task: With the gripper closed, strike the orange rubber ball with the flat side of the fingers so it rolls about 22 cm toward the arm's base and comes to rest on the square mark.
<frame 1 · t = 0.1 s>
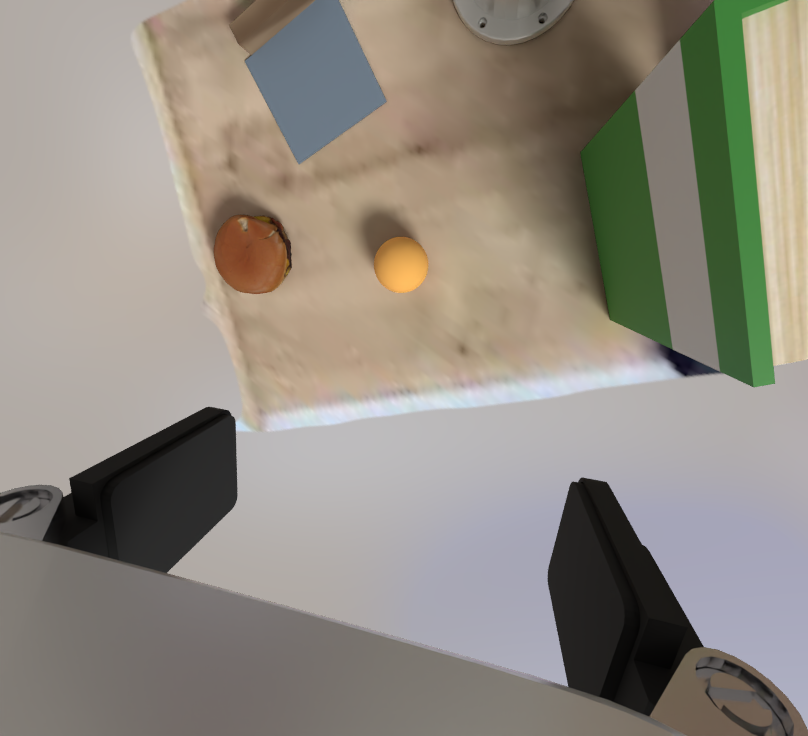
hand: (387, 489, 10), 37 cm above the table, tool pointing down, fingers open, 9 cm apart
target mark: (314, 81, 42), on the table
hardback book: (633, 228, 40), on the table
stopper wall: (282, 16, 41), on the table
burger: (263, 255, 49), on the table
ball: (401, 265, 42), on the table
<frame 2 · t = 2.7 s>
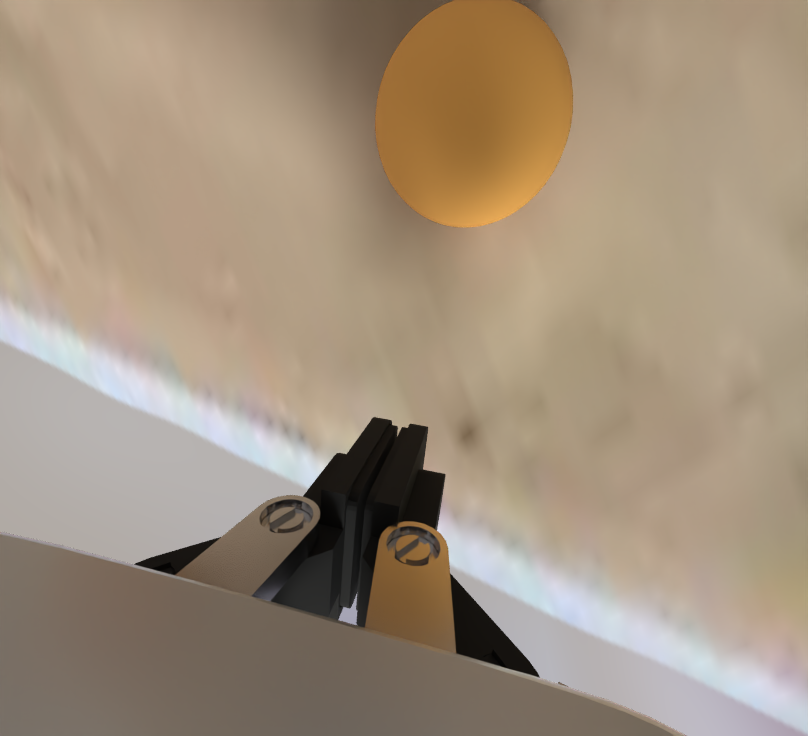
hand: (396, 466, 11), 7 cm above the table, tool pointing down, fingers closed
ball: (469, 126, 12), on the table
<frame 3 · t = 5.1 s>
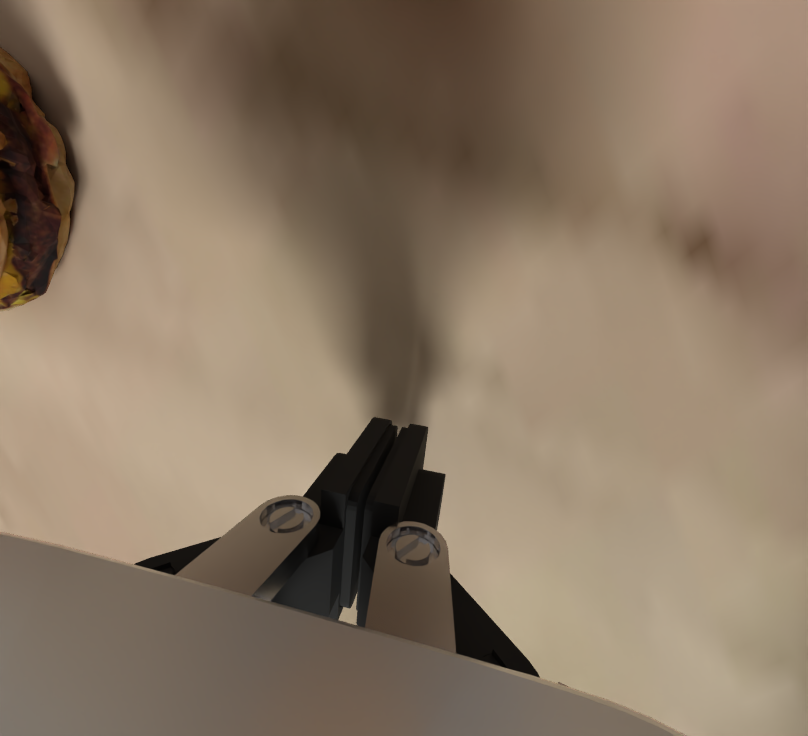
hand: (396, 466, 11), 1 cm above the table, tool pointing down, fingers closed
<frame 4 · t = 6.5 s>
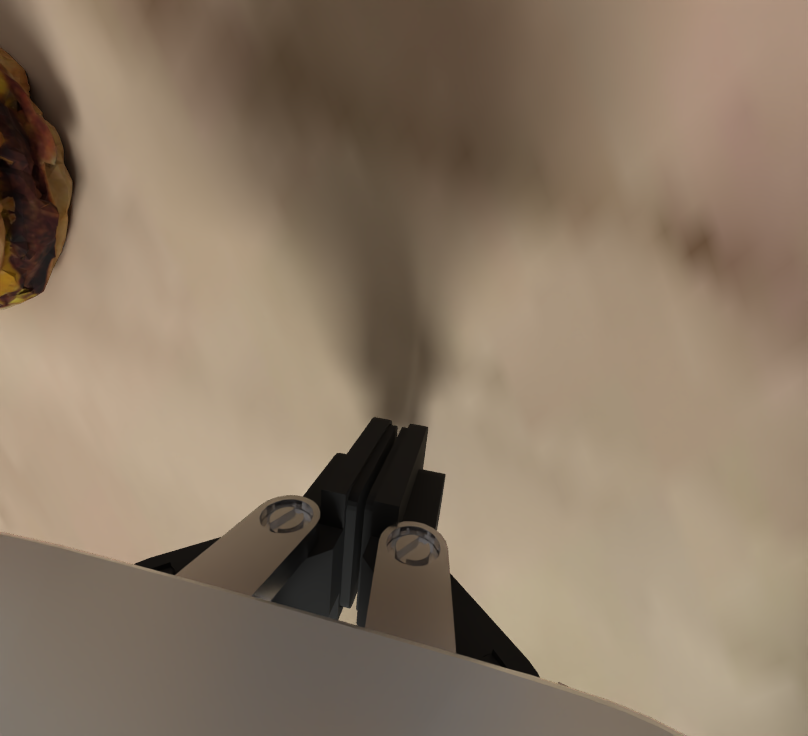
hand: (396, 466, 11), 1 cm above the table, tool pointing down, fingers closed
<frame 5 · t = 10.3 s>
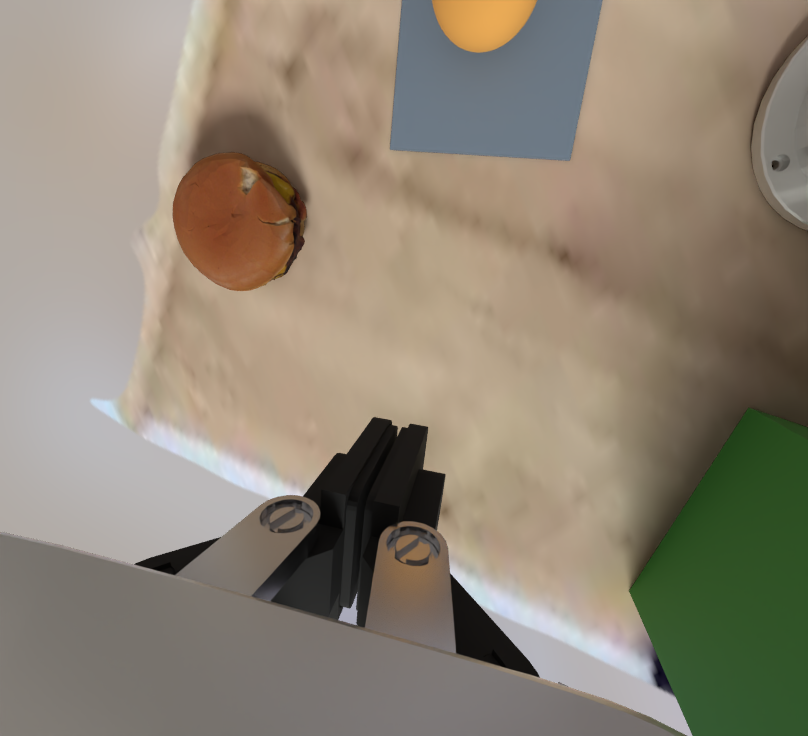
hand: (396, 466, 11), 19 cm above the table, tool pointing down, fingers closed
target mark: (491, 49, 24), on the table
hardback book: (731, 524, 29), on the table
burger: (256, 225, 31), on the table
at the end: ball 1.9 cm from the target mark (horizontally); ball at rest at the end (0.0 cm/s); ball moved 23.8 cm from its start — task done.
